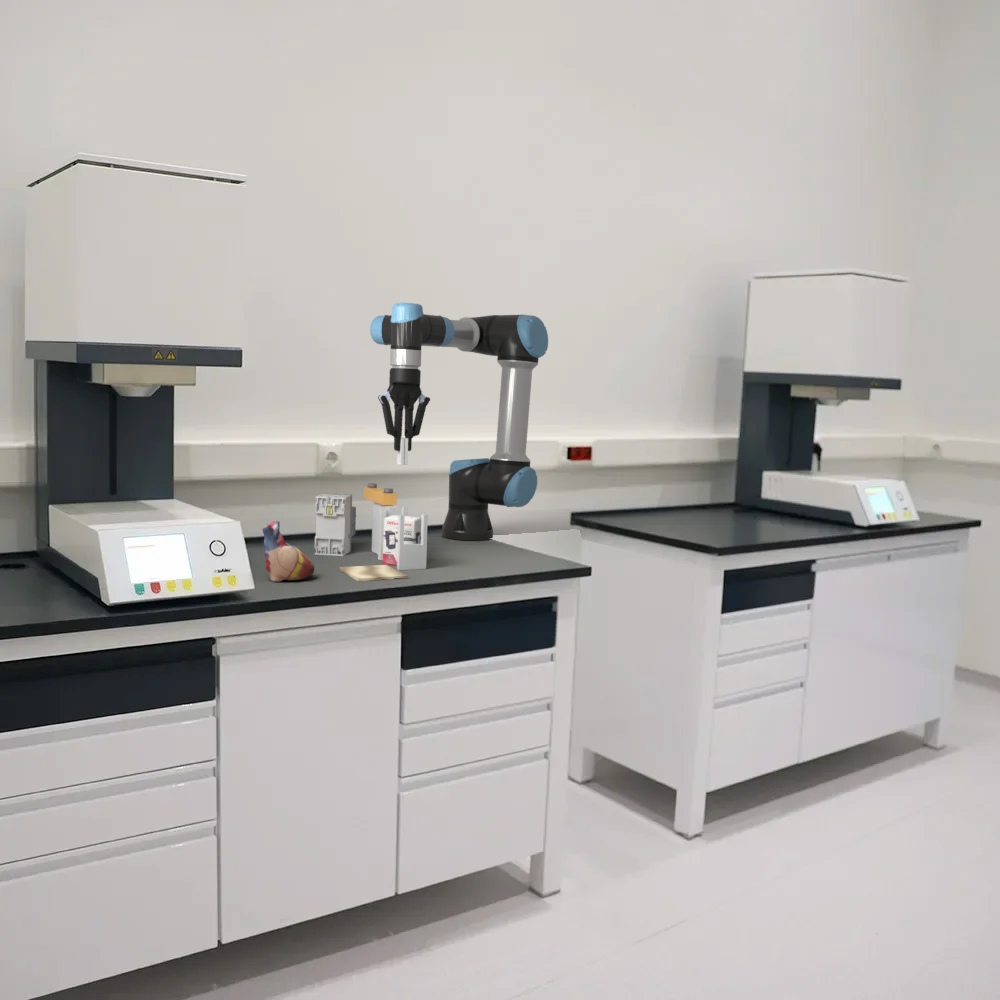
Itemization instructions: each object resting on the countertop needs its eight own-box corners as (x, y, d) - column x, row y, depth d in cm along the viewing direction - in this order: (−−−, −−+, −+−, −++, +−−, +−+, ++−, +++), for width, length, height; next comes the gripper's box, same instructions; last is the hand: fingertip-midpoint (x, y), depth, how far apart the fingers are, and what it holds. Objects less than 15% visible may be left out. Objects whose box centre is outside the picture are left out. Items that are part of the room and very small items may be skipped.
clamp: (388, 550, 266) (389, 500, 265) (426, 568, 243) (427, 514, 241) (363, 551, 263) (364, 501, 262) (399, 570, 240) (400, 515, 238)
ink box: (381, 564, 247) (382, 517, 245) (389, 560, 251) (391, 514, 250) (413, 567, 244) (415, 519, 243) (421, 564, 249) (422, 517, 248)
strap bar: (376, 497, 269) (376, 482, 268) (396, 505, 255) (396, 489, 255) (363, 497, 267) (364, 483, 267) (383, 505, 254) (383, 489, 253)
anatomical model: (305, 589, 219) (284, 526, 215) (269, 594, 222) (247, 533, 218) (321, 570, 228) (301, 510, 224) (287, 576, 231) (266, 516, 226)
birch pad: (386, 567, 243) (386, 564, 243) (407, 578, 231) (407, 575, 230) (339, 569, 238) (339, 567, 238) (357, 581, 225) (357, 578, 225)
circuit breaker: (356, 547, 270) (357, 491, 268) (343, 556, 255) (344, 498, 254) (329, 545, 270) (330, 490, 268) (314, 554, 256) (315, 496, 254)
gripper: (424, 368, 249) (421, 463, 252) (374, 366, 243) (371, 462, 246) (436, 369, 242) (433, 465, 245) (384, 366, 236) (381, 465, 239)
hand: (402, 464), depth 245 cm, fingers closed
